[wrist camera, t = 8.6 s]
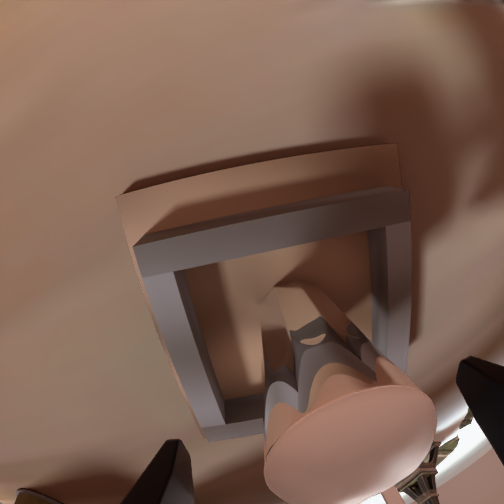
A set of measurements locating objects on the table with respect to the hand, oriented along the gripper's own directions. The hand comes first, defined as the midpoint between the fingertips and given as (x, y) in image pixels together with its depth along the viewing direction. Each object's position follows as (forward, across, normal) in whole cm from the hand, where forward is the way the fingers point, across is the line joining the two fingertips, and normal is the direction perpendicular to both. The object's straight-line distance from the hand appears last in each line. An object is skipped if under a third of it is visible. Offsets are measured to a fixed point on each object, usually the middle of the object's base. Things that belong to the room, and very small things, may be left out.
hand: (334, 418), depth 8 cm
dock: (+7, 0, 0) cm, 7 cm away
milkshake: (+6, 0, 0) cm, 7 cm away
